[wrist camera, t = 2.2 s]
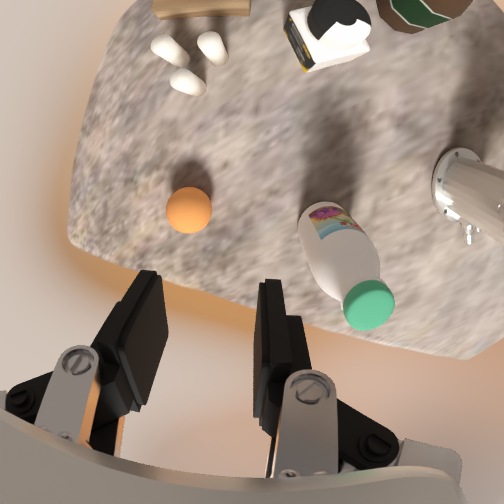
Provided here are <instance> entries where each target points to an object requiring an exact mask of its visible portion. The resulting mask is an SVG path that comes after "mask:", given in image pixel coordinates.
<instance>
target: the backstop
mask: <svg viewBox="0 0 504 504" xmlns="http://www.w3.org/2000/svg"><path fill="white" fill-rule="evenodd" d="M250 7H251V0H153V6H152V12H153V13H154V14H155V15H156V16H157V17H158V18H159V19H160V20H166V19H175V18H186V17H202V16H250Z"/></svg>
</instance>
